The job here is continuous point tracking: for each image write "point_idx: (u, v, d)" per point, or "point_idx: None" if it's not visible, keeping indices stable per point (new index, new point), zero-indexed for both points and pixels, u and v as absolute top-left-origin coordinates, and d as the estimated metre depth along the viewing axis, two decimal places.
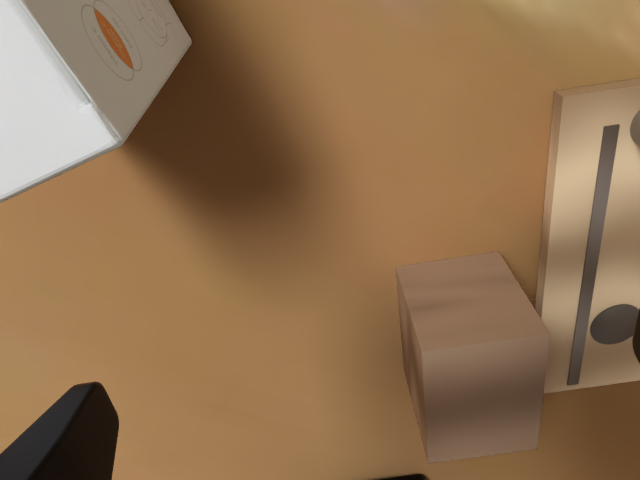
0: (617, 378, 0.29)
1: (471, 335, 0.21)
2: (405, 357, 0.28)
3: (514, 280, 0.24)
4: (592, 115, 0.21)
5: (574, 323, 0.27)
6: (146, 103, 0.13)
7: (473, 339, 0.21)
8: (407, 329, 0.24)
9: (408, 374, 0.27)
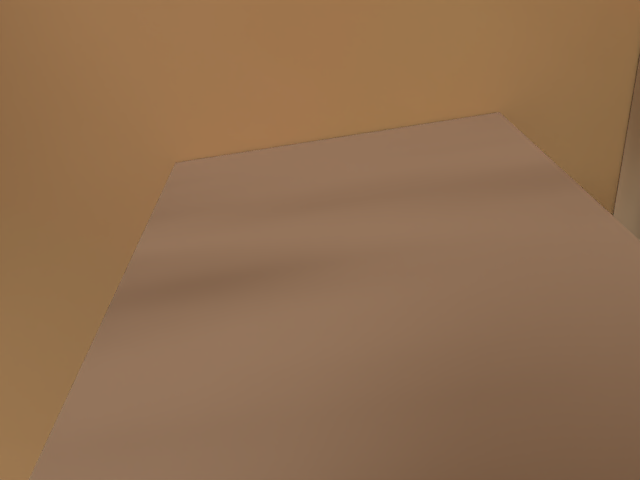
0: None
1: (338, 450, 0.03)
2: None
3: (565, 182, 0.06)
4: None
5: None
6: None
7: None
8: None
9: None
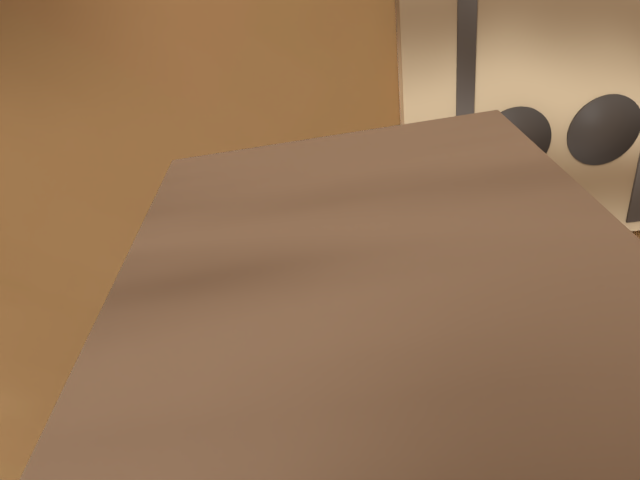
0: None
1: (332, 444, 0.03)
2: None
3: (563, 178, 0.06)
4: None
5: None
6: None
7: (340, 478, 0.03)
8: None
9: None
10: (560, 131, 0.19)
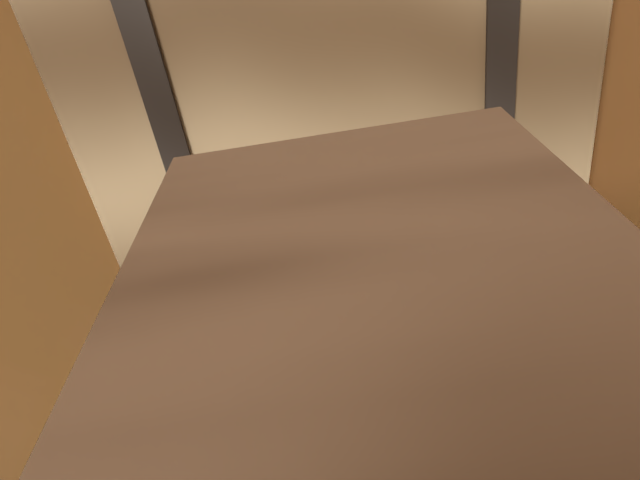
0: None
1: (337, 443, 0.03)
2: None
3: (567, 175, 0.06)
4: None
5: None
6: None
7: (343, 477, 0.03)
8: None
9: None
10: None
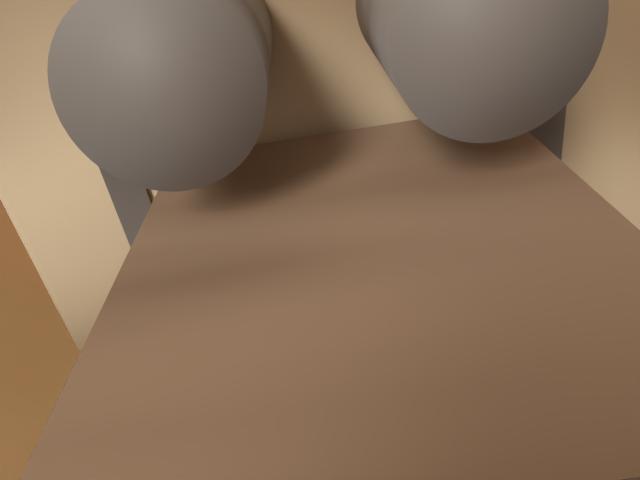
0: None
1: (337, 442, 0.03)
2: None
3: (566, 174, 0.06)
4: (0, 9, 0.07)
5: None
6: None
7: (343, 474, 0.03)
8: None
9: None
10: None
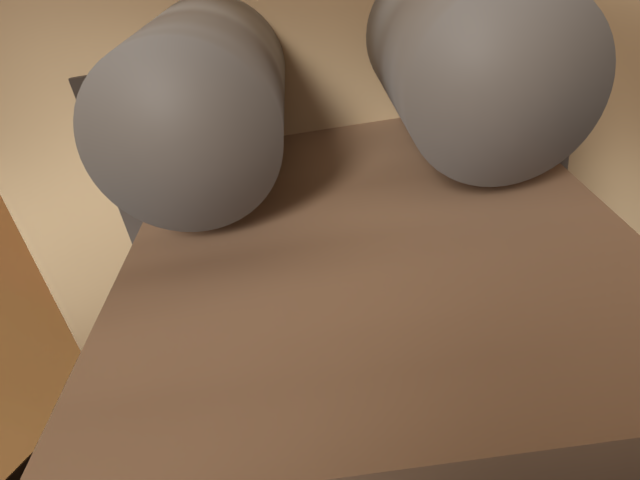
0: None
1: (331, 412, 0.04)
2: None
3: (555, 167, 0.06)
4: (18, 43, 0.07)
5: None
6: None
7: (338, 440, 0.03)
8: None
9: None
10: None
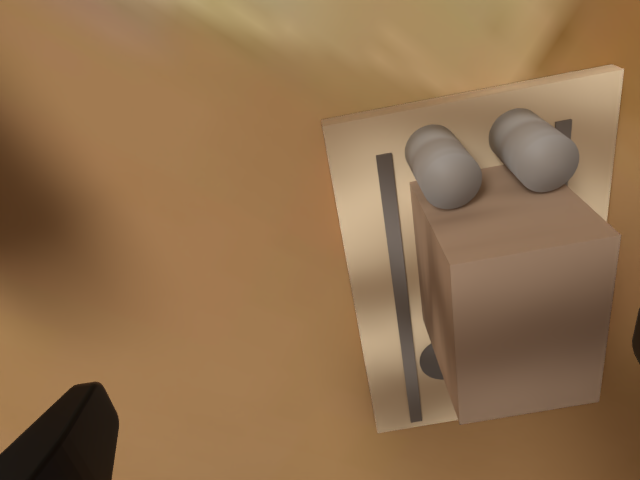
0: None
1: (514, 244, 0.16)
2: (425, 300, 0.22)
3: (562, 185, 0.18)
4: (360, 143, 0.20)
5: (401, 359, 0.25)
6: None
7: (518, 248, 0.16)
8: (427, 255, 0.19)
9: (429, 321, 0.22)
10: None
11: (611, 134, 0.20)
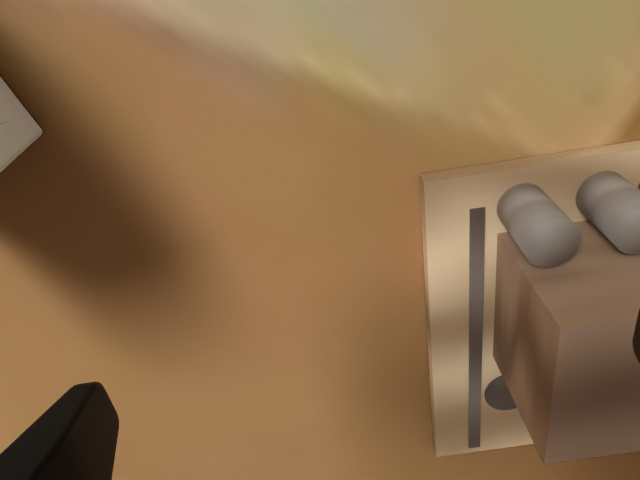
0: (519, 441, 0.29)
1: (617, 309, 0.17)
2: (501, 341, 0.24)
3: None
4: (456, 198, 0.21)
5: (467, 391, 0.27)
6: None
7: (622, 313, 0.17)
8: (518, 306, 0.21)
9: (506, 361, 0.24)
10: None
11: None
